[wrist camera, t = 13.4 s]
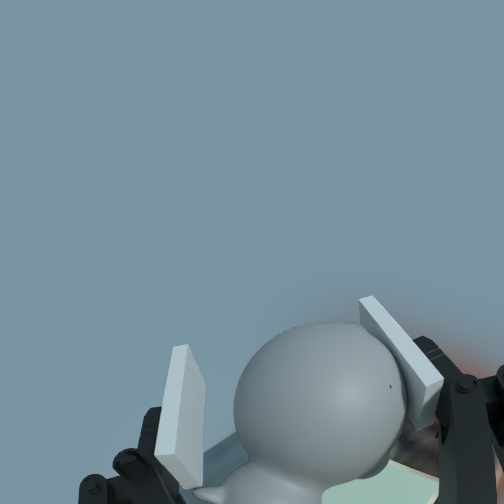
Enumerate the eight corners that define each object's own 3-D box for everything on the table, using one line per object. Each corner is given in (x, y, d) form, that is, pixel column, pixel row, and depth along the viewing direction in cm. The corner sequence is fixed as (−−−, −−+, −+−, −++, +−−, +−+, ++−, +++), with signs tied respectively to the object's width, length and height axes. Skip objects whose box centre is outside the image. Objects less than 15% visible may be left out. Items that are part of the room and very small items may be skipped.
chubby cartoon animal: (224, 523, 13) (107, 503, 8) (321, 363, 19) (259, 276, 14) (328, 581, 8) (239, 626, 3) (431, 387, 14) (425, 294, 9)
